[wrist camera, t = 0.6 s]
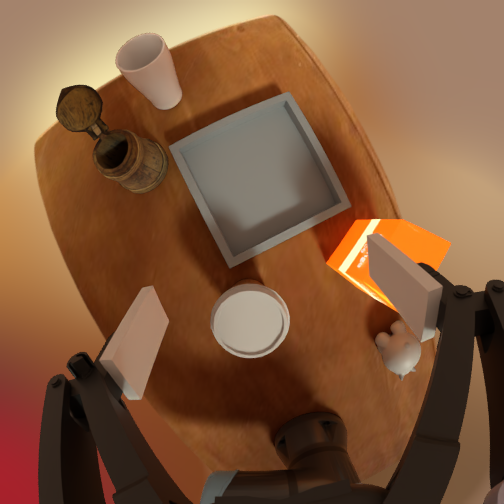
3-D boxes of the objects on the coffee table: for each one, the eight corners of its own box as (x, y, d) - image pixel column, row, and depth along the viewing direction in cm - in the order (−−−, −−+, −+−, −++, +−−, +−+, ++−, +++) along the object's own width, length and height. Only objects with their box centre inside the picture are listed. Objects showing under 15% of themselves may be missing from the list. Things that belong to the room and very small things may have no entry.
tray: (343, 207, 42) (351, 206, 38) (230, 264, 42) (229, 268, 39) (285, 100, 40) (289, 91, 36) (174, 152, 40) (168, 146, 36)
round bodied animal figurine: (375, 366, 48) (395, 396, 40) (369, 334, 42) (394, 368, 35) (404, 348, 48) (425, 375, 40) (402, 312, 42) (429, 343, 34)
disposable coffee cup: (225, 262, 42) (218, 277, 30) (285, 276, 43) (300, 296, 31) (213, 319, 43) (202, 352, 31) (270, 331, 43) (279, 367, 32)
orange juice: (387, 247, 43) (467, 263, 23) (358, 289, 43) (427, 331, 23) (355, 218, 42) (431, 217, 22) (324, 262, 43) (384, 293, 23)
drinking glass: (186, 111, 39) (162, 66, 24) (147, 117, 39) (110, 78, 24) (187, 78, 39) (167, 27, 24) (150, 84, 38) (118, 39, 23)
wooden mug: (138, 112, 39) (90, 62, 21) (178, 170, 40) (136, 137, 22) (99, 144, 39) (36, 113, 21) (135, 204, 41) (72, 195, 23)
